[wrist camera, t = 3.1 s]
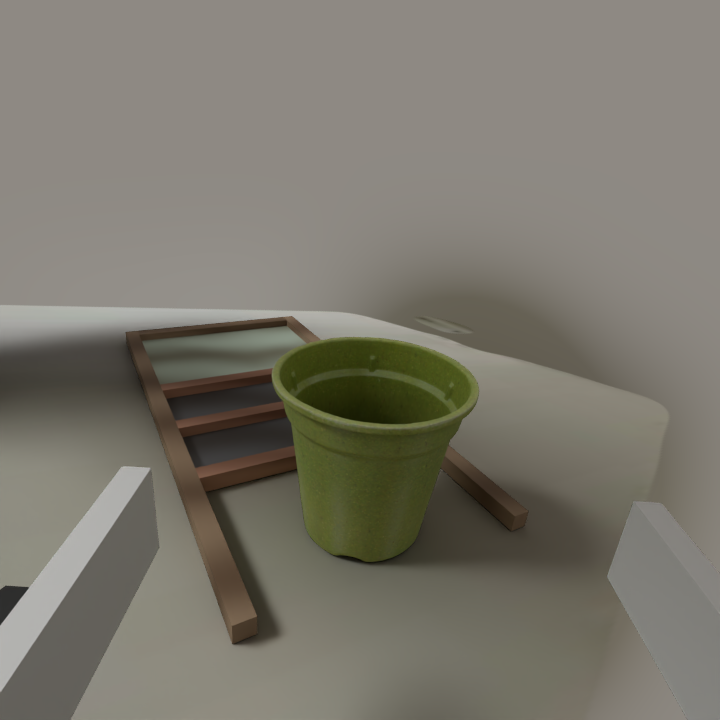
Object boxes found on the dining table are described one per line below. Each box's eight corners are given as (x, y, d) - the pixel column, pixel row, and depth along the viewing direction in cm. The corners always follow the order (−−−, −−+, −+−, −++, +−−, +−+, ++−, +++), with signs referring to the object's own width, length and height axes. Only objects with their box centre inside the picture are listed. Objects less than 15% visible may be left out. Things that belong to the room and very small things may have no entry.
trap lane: (126, 342, 45) (125, 332, 45) (291, 325, 53) (292, 316, 53) (232, 644, 20) (232, 625, 19) (524, 525, 27) (528, 511, 27)
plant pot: (336, 630, 21) (352, 452, 17) (239, 500, 27) (237, 353, 24) (487, 543, 26) (523, 393, 22) (375, 452, 33) (389, 326, 29)
